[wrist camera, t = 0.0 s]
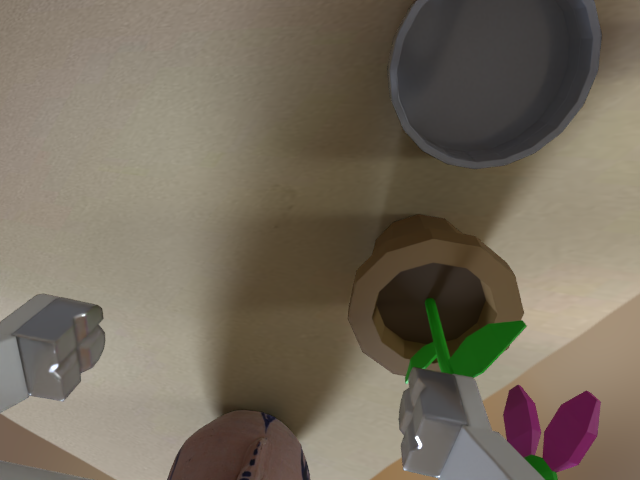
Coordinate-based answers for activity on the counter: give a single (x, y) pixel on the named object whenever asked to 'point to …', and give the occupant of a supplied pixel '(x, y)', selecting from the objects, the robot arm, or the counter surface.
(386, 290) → the flowerpot
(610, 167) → the counter surface
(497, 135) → the pan
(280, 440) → the ceramic pitcher
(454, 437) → the robot arm
